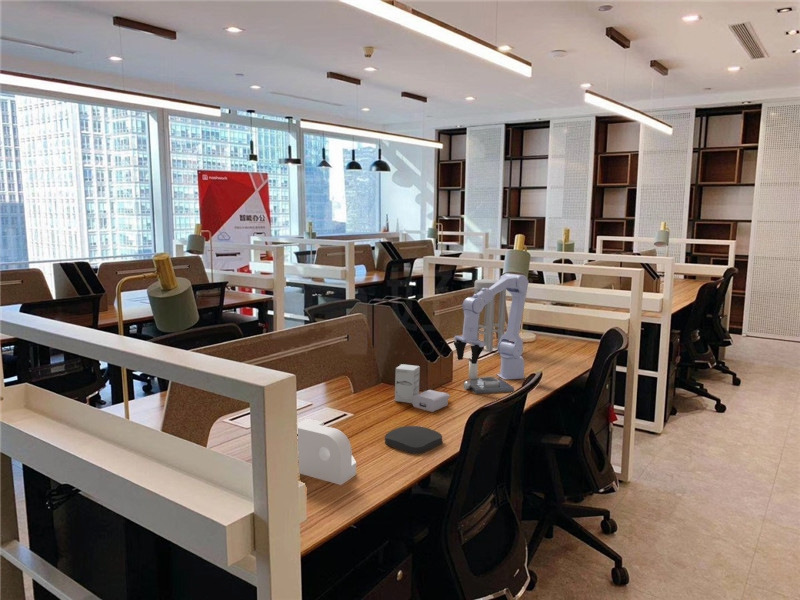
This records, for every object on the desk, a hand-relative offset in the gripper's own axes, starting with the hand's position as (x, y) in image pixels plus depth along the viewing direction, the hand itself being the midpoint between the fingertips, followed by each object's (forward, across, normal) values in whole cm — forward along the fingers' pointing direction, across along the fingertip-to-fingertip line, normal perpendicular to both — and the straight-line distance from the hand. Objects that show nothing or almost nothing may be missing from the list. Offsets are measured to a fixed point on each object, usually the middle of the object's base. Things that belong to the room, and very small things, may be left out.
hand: (466, 361), depth 237 cm
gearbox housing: (+10, +6, +7) cm, 14 cm away
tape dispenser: (+19, +32, -85) cm, 92 cm away
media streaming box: (+16, +31, -53) cm, 64 cm away
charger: (+13, +8, -24) cm, 28 cm away
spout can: (+9, -7, +12) cm, 17 cm away
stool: (+5, -42, +60) cm, 74 cm away
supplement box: (+14, -2, -28) cm, 32 cm away
